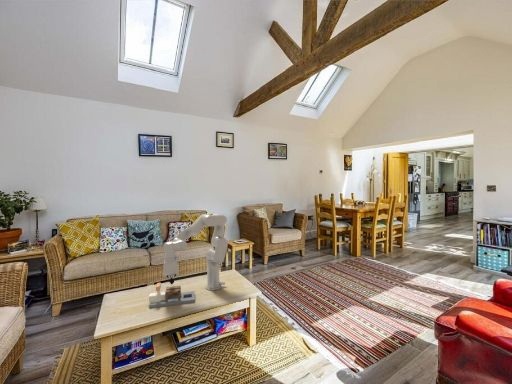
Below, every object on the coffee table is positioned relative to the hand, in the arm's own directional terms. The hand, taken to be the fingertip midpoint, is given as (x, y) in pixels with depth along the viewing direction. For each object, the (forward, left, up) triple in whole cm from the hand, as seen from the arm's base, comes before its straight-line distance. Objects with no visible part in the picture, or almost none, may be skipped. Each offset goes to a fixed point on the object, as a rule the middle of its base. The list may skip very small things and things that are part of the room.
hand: (171, 283), depth 177 cm
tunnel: (-1, +1, -10) cm, 10 cm away
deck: (-1, +1, -12) cm, 12 cm away
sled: (+9, +1, -10) cm, 14 cm away
